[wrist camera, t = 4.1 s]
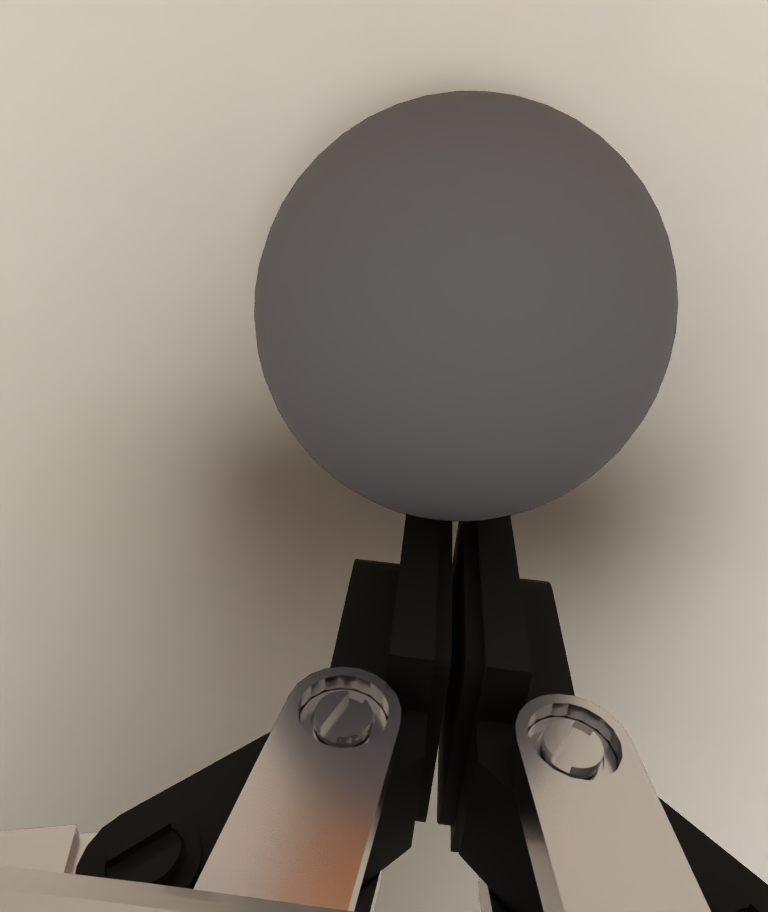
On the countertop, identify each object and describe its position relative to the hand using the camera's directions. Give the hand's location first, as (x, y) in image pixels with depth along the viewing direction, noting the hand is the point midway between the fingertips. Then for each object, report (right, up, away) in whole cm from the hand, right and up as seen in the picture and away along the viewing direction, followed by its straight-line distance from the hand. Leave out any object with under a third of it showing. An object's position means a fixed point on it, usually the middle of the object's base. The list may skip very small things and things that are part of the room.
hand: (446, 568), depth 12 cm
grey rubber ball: (0, +4, -2) cm, 4 cm away
